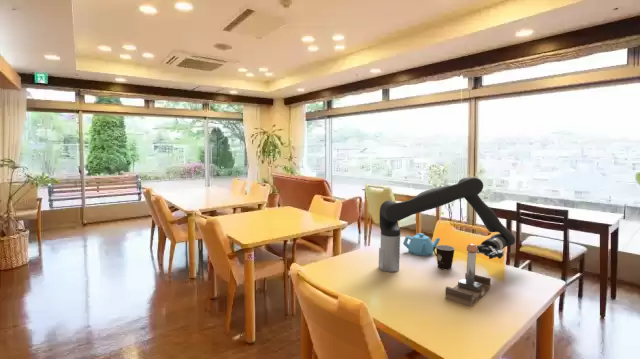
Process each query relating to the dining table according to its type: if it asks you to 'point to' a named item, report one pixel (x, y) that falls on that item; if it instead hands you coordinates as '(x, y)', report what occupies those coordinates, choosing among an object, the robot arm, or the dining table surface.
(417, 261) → the dining table surface
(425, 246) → the teapot
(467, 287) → the handle
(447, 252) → the coffee mug
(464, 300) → the base
